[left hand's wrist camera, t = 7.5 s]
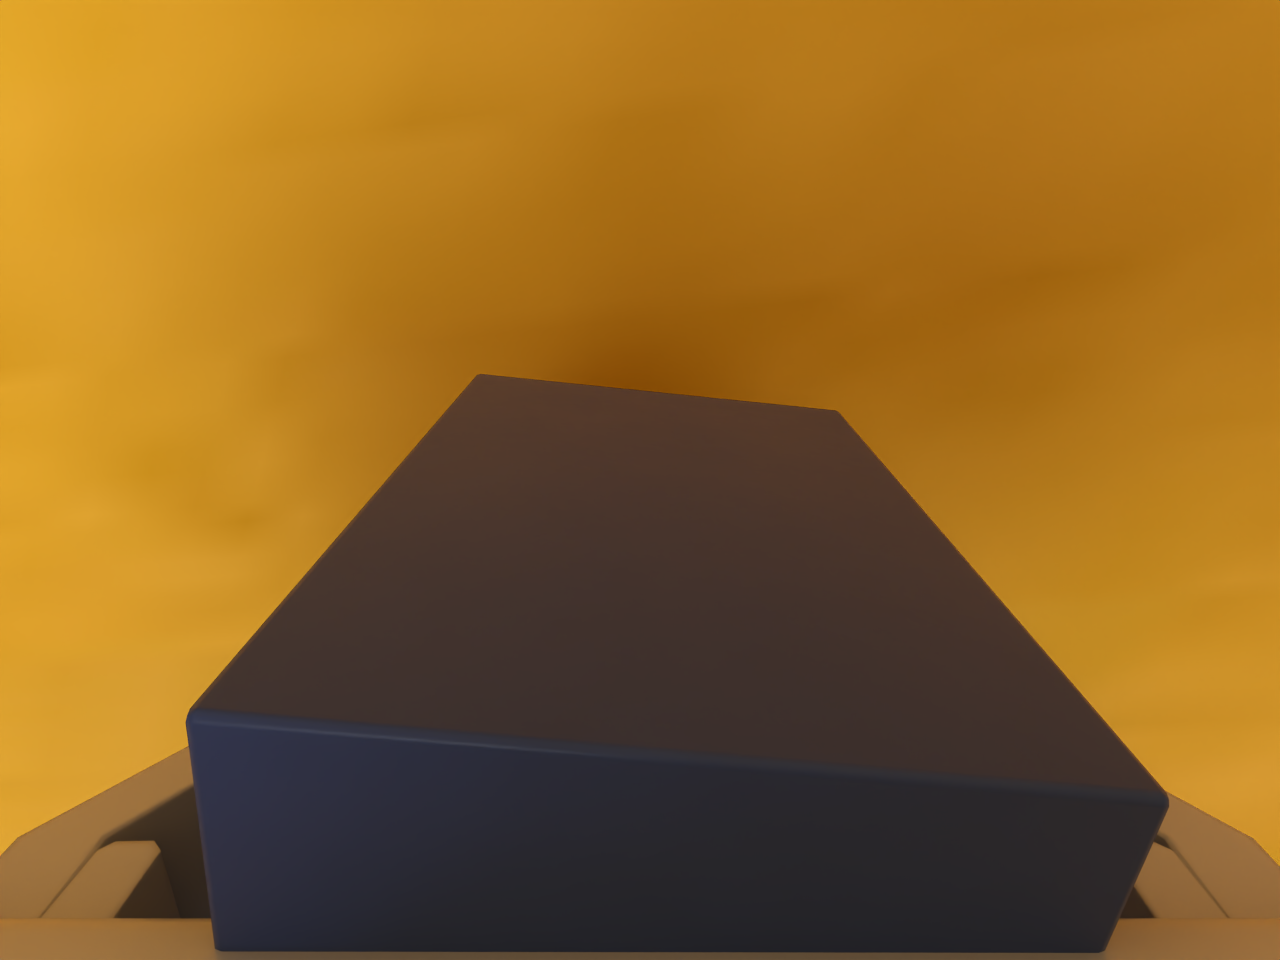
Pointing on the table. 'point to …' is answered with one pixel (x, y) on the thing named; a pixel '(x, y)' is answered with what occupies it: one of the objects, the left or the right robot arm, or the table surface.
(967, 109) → the table surface
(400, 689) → the bar
